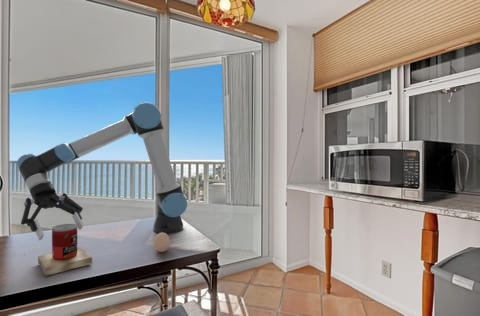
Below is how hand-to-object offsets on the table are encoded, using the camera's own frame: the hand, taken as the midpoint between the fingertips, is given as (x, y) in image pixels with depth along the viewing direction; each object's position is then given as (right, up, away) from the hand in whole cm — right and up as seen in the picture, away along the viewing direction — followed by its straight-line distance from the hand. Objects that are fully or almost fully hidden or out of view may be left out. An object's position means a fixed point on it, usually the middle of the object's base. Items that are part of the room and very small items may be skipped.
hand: (62, 232), depth 100 cm
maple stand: (+1, -12, 0) cm, 12 cm away
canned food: (+1, -9, 0) cm, 9 cm away
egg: (+32, -12, +14) cm, 37 cm away
